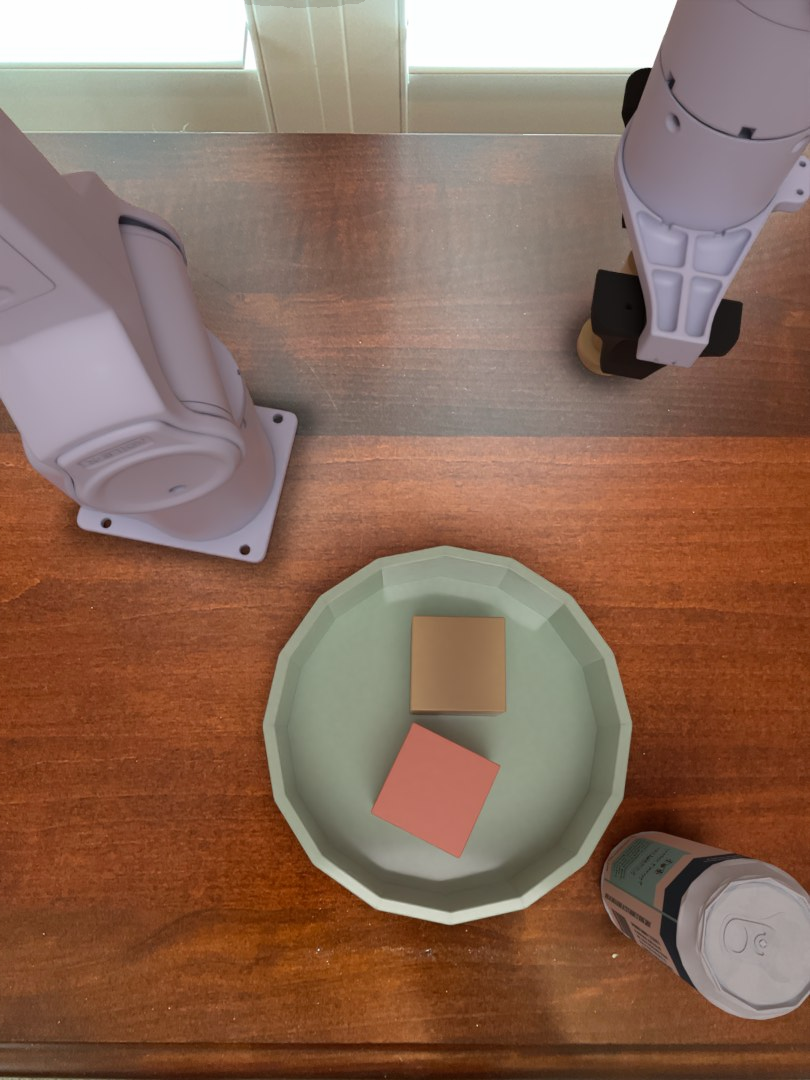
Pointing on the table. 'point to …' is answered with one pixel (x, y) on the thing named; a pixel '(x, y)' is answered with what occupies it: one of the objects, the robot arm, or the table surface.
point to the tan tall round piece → (590, 342)
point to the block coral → (435, 790)
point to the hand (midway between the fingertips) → (633, 296)
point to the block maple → (457, 666)
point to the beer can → (714, 920)
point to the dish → (447, 736)
